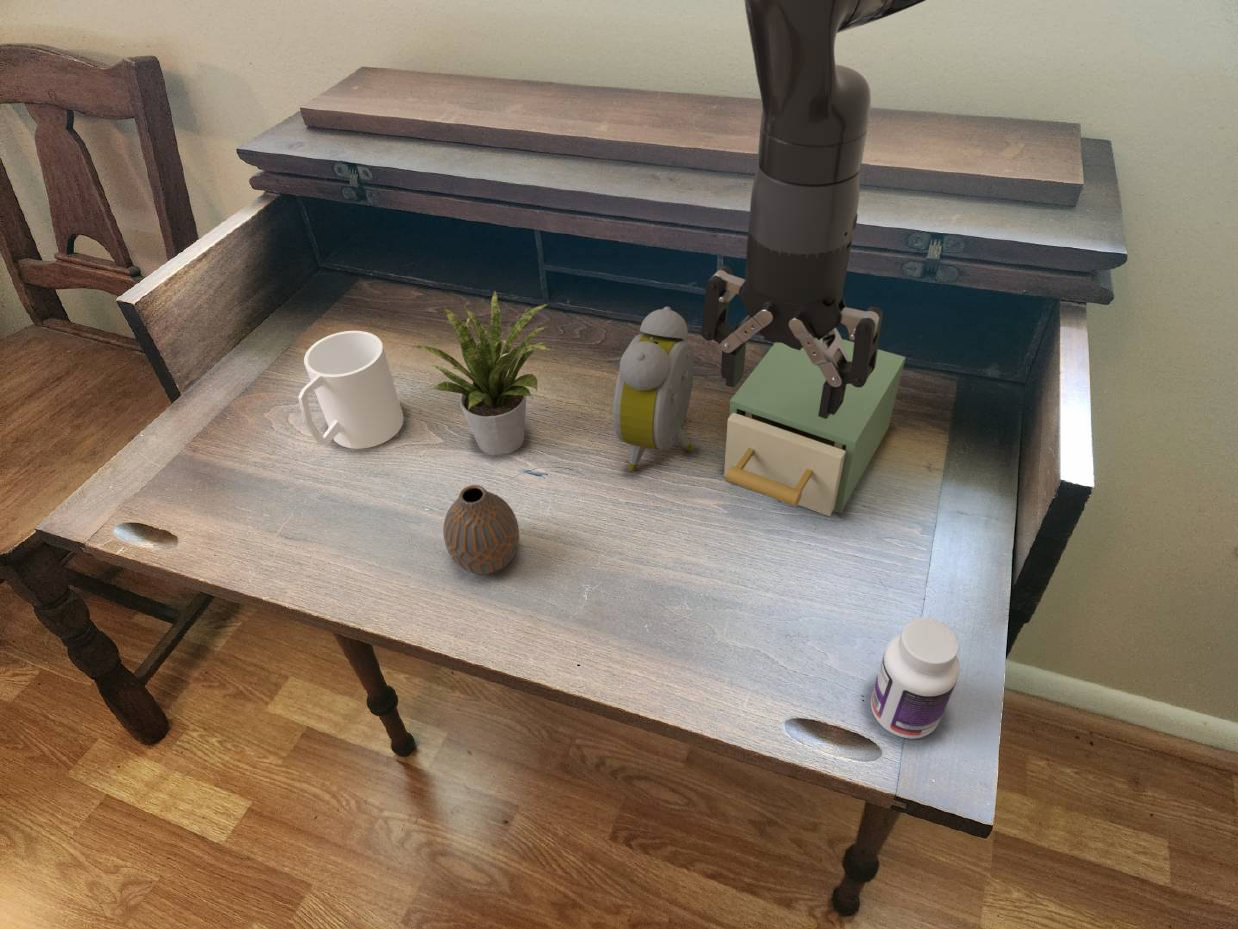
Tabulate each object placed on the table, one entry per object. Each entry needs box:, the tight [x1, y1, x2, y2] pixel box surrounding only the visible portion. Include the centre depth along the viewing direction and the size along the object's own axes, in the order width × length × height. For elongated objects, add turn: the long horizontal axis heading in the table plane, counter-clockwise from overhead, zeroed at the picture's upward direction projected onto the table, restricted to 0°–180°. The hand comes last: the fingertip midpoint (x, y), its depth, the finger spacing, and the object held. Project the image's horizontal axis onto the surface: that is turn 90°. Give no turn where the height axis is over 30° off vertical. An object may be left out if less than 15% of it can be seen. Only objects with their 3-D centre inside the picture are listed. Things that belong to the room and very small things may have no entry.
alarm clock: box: [612, 306, 695, 472], centre depth 85 cm, size 12×7×15 cm, turn 160°
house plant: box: [411, 290, 553, 456], centre depth 86 cm, size 14×14×16 cm
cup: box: [297, 330, 405, 450], centre depth 90 cm, size 8×12×10 cm
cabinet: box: [728, 338, 906, 515], centre depth 85 cm, size 15×13×10 cm
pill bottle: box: [870, 617, 961, 740], centre depth 63 cm, size 5×5×10 cm
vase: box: [442, 484, 520, 575], centre depth 77 cm, size 7×7×9 cm
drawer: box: [723, 412, 846, 517], centre depth 83 cm, size 18×11×8 cm, turn 149°
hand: (779, 397), depth 71 cm, fingers open, 8 cm apart
